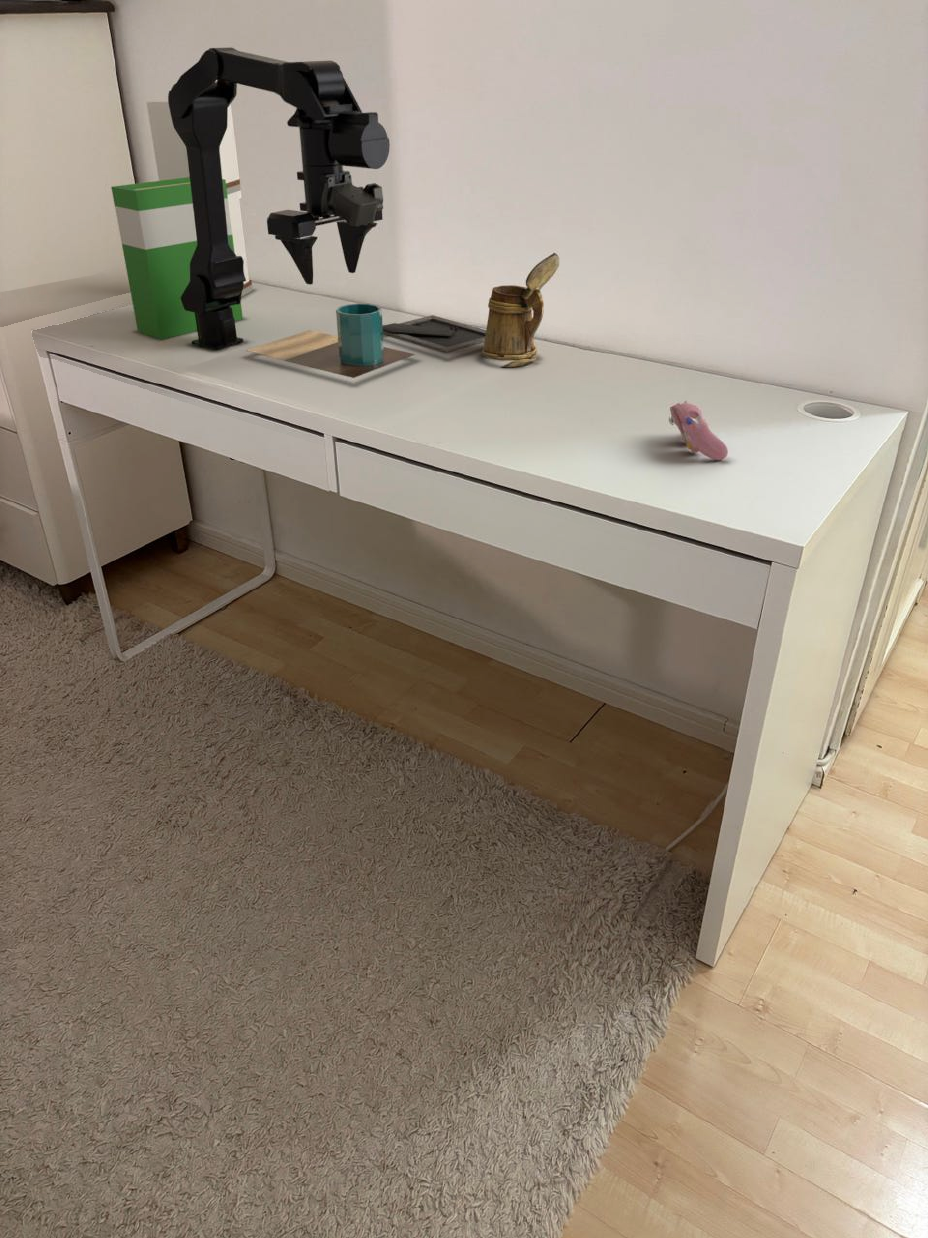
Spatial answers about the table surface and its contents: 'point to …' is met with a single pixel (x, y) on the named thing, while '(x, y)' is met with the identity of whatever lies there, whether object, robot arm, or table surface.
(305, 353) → the serving board
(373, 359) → the teal cup
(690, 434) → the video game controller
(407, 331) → the picture frame
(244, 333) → the table surface
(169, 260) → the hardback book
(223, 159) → the tall white box
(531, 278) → the wooden mug
